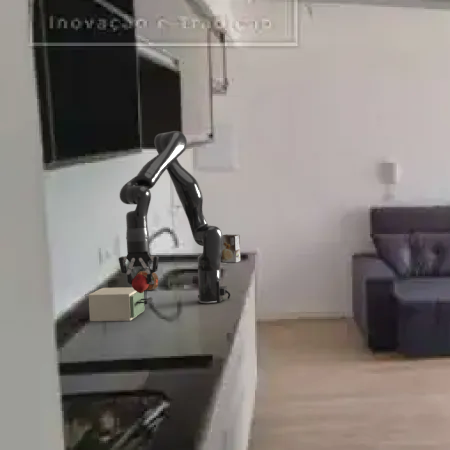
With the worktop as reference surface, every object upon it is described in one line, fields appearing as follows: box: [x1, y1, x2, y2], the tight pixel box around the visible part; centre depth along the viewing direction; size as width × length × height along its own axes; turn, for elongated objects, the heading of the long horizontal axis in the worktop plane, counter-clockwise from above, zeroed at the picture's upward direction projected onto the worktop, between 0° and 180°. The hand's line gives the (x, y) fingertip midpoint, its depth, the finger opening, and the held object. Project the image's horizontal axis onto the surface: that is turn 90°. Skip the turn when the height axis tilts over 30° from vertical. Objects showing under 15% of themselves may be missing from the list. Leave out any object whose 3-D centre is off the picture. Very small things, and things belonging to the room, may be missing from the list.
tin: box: [135, 270, 159, 291], centre depth 296 cm, size 15×3×8 cm, turn 56°
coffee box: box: [221, 233, 241, 263], centre depth 374 cm, size 9×6×16 cm
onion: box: [131, 271, 149, 293], centre depth 234 cm, size 6×6×8 cm
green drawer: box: [130, 291, 154, 319], centre depth 245 cm, size 18×12×8 cm, turn 95°
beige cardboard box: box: [88, 286, 139, 322], centre depth 244 cm, size 15×13×10 cm
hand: (140, 283), depth 234 cm, fingers closed on onion, 5 cm apart
